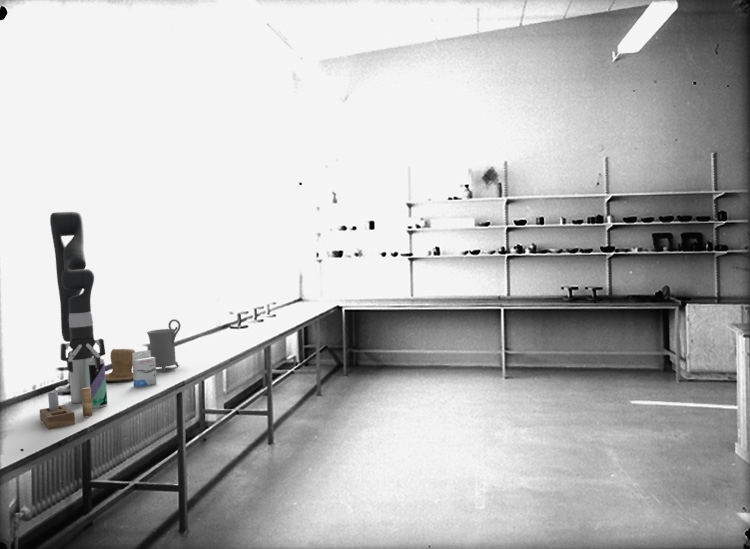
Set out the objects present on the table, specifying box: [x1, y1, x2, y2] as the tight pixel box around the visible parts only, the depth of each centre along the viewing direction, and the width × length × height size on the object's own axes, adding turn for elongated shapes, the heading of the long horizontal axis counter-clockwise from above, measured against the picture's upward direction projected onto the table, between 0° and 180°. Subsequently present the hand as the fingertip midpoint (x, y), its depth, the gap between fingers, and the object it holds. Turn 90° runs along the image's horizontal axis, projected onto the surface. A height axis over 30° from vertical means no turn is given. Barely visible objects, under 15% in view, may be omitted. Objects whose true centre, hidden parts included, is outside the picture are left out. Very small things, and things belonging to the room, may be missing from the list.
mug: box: [146, 318, 181, 373], centre depth 294 cm, size 19×15×25 cm
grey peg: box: [47, 390, 60, 411], centre depth 209 cm, size 3×3×10 cm
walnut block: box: [39, 404, 76, 430], centre depth 206 cm, size 15×8×4 cm, turn 39°
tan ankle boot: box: [105, 348, 136, 383], centre depth 273 cm, size 15×12×15 cm
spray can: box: [89, 356, 108, 409], centre depth 226 cm, size 6×6×20 cm
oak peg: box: [81, 387, 94, 418], centre depth 213 cm, size 3×3×10 cm
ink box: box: [132, 349, 158, 388], centre depth 261 cm, size 9×5×15 cm, turn 133°
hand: (84, 369), depth 212 cm, fingers open, 8 cm apart
